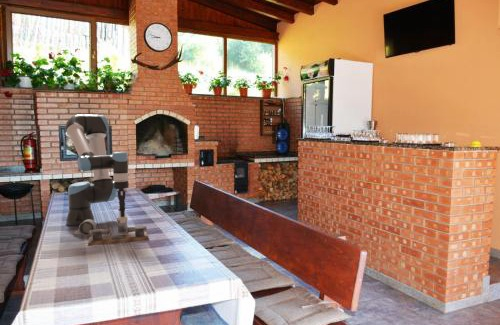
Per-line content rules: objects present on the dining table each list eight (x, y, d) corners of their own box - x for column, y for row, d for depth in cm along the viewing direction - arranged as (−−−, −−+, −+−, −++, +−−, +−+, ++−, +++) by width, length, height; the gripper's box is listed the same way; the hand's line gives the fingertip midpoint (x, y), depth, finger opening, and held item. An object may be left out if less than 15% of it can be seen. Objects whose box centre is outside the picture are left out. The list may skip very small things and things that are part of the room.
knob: (115, 231, 210) (114, 218, 209) (122, 228, 215) (121, 216, 214) (122, 232, 208) (122, 219, 207) (129, 230, 213) (129, 217, 212)
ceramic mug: (97, 231, 210) (96, 217, 209) (94, 235, 202) (93, 221, 201) (76, 232, 208) (75, 218, 207) (72, 237, 200) (71, 222, 199)
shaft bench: (88, 245, 186) (87, 232, 185) (89, 239, 196) (88, 226, 195) (148, 240, 195) (148, 227, 194) (146, 234, 205) (146, 221, 205)
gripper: (129, 183, 198) (130, 224, 200) (127, 177, 222) (128, 214, 223) (113, 184, 196) (115, 225, 197) (113, 178, 219) (114, 215, 221)
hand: (122, 219), depth 210 cm, fingers open, 13 cm apart
